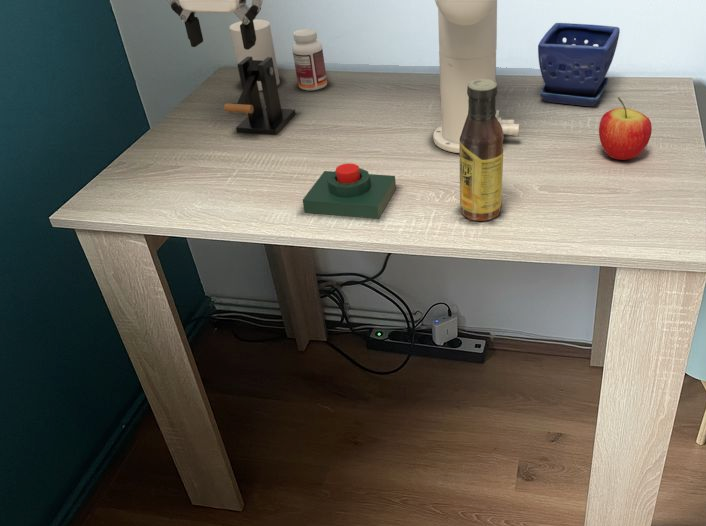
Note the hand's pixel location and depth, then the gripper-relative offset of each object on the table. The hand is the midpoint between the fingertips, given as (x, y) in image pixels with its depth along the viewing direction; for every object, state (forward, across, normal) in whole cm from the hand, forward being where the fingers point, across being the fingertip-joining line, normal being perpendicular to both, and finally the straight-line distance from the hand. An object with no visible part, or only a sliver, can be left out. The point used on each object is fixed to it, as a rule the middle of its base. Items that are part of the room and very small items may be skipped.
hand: (223, 45), depth 123 cm
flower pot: (+17, +58, +30) cm, 67 cm away
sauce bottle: (+17, +48, -19) cm, 54 cm away
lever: (+10, +1, +5) cm, 11 cm away
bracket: (+17, +1, +9) cm, 19 cm away
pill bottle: (+17, +3, +29) cm, 34 cm away
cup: (+17, -9, +29) cm, 35 cm away
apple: (+17, +68, +4) cm, 70 cm away
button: (+13, +27, -18) cm, 35 cm away
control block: (+17, +27, -18) cm, 36 cm away
